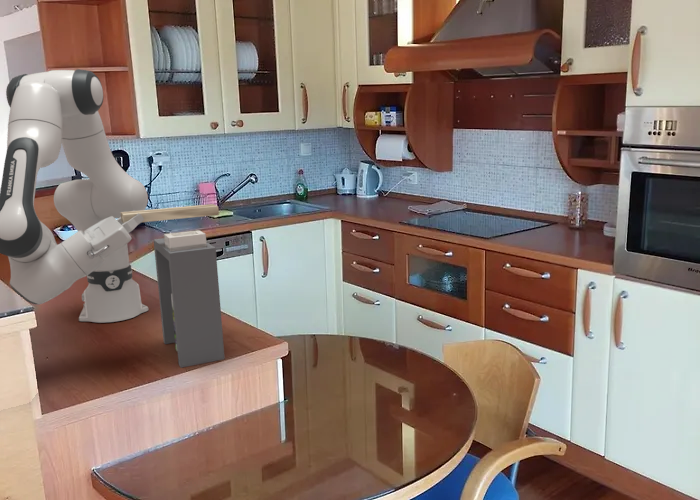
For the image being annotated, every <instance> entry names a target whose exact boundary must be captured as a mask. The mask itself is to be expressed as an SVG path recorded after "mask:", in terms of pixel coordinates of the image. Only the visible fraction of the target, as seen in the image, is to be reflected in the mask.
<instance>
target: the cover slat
mask: <svg viewBox="0 0 700 500" xmlns="http://www.w3.org/2000/svg"><path fill="white" fill-rule="evenodd" d="M219 212H220V211H219V206H218V205H216V204H214V203H210V204H198V205H186V206H177V207H167V208H165V207H164V208H155V209H153V208H152V209H145V210H141V211H130V212H120V213H121V221H122V222H123V223H125V222H127V221H129V220H130V219H131V218H132V217H133V216H135V215H136V214H141V215H142V217H143V218H144V221H143V222H142V223H147V222H148V223H149V222H150V223H151V222H158V221H168V220H169V221H170V220H179V219H181V220H182V219H188V218H201V217H210V216H211V217H212V216H219V215H220V213H219Z"/></svg>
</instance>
